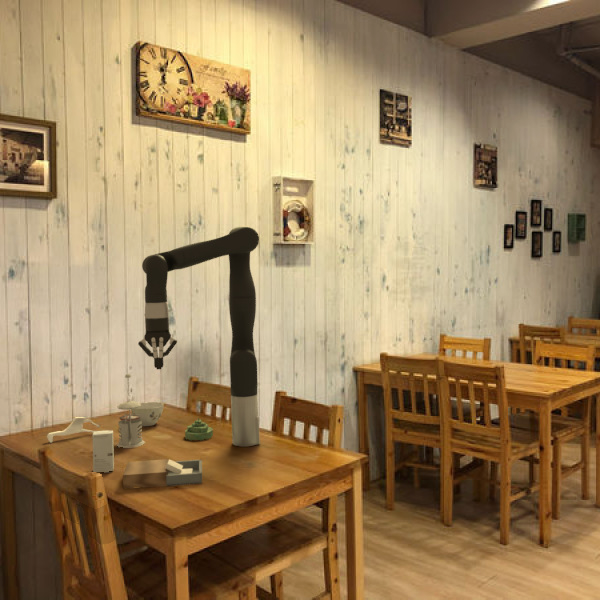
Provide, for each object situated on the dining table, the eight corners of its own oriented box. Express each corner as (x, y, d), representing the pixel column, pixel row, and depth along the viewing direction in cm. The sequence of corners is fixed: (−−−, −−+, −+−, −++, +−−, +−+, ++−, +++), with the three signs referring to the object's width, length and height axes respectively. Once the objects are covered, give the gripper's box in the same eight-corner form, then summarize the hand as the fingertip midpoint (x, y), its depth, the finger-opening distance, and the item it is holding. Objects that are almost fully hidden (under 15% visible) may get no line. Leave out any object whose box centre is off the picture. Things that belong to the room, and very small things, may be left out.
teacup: (170, 424, 251) (169, 404, 251) (141, 430, 243) (140, 410, 242) (151, 417, 262) (150, 398, 262) (123, 423, 254) (122, 404, 253)
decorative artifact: (192, 442, 225) (217, 437, 231) (191, 423, 225) (217, 418, 231) (180, 436, 234) (205, 431, 239) (180, 417, 233) (204, 413, 239)
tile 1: (180, 470, 189) (183, 465, 189) (179, 474, 185) (181, 470, 185) (167, 463, 189) (169, 459, 189) (165, 468, 184) (167, 463, 184)
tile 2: (177, 469, 190) (177, 474, 190) (176, 474, 186) (176, 479, 186) (192, 468, 191) (192, 473, 191) (191, 473, 186) (191, 478, 186)
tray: (202, 468, 196) (201, 459, 196) (202, 483, 183) (201, 473, 183) (169, 471, 195) (168, 461, 194) (166, 486, 182) (166, 475, 182)
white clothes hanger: (90, 450, 241) (44, 441, 229) (100, 420, 243) (55, 410, 232) (92, 451, 239) (46, 442, 228) (102, 421, 241) (57, 411, 230)
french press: (146, 439, 231) (143, 370, 229) (143, 448, 220) (140, 376, 218) (118, 441, 229) (115, 372, 228) (114, 450, 218) (111, 378, 216)
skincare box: (93, 474, 194) (91, 434, 193) (94, 469, 199) (92, 431, 198) (114, 471, 196) (112, 433, 195) (114, 467, 200) (113, 429, 199)
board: (169, 471, 194) (168, 459, 194) (166, 485, 182) (166, 471, 182) (128, 474, 192) (128, 461, 192) (123, 489, 180) (123, 475, 180)
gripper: (177, 314, 212) (179, 366, 213) (137, 316, 210) (139, 368, 211) (177, 316, 205) (179, 369, 206) (134, 318, 203) (137, 372, 204)
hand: (159, 368), depth 209 cm, fingers closed
